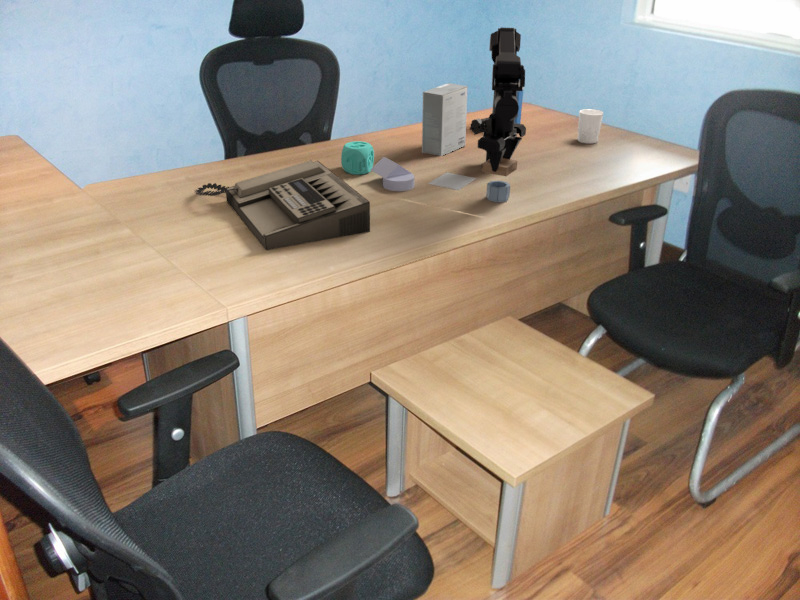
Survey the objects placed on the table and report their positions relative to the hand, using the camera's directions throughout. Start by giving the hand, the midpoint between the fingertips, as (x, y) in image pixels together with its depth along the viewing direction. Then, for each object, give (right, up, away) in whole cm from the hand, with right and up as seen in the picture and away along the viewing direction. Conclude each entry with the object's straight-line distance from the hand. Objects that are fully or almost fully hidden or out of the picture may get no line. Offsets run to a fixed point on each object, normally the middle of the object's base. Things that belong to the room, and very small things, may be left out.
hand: (500, 167), depth 202 cm
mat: (-12, -1, +16) cm, 20 cm away
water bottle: (+12, +26, +69) cm, 75 cm away
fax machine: (-60, -13, -5) cm, 61 cm away
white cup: (+38, +19, +56) cm, 70 cm away
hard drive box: (-13, +14, +45) cm, 48 cm away
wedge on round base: (-28, -3, +14) cm, 32 cm away
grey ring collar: (0, -8, +4) cm, 9 cm away
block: (0, -1, 0) cm, 1 cm away
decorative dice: (-40, +3, +25) cm, 47 cm away
